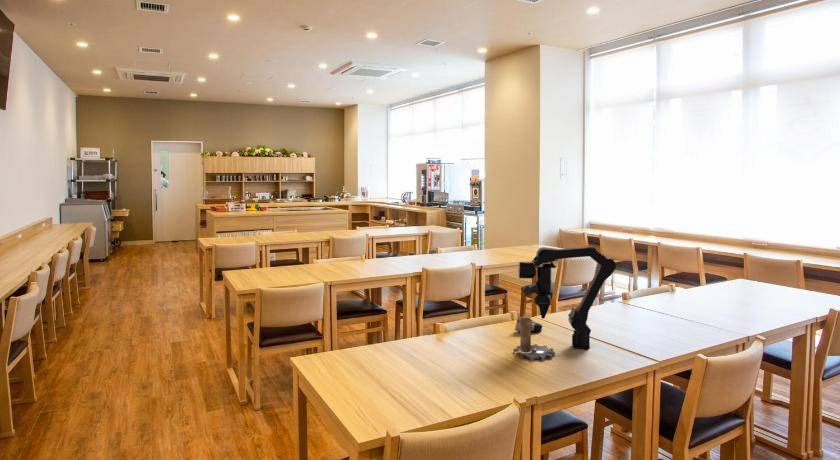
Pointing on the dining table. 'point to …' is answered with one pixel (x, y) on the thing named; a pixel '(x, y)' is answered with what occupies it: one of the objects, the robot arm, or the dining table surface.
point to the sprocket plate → (535, 353)
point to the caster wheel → (533, 325)
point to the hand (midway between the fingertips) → (543, 315)
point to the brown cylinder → (525, 334)
